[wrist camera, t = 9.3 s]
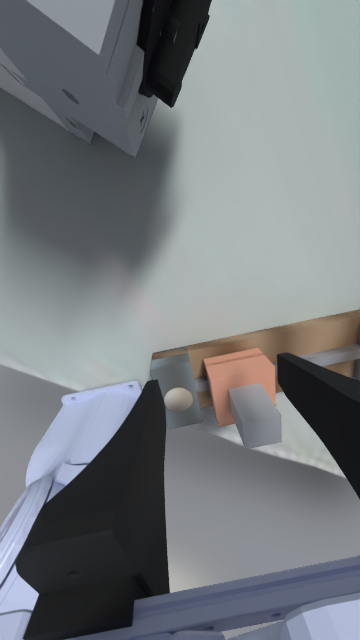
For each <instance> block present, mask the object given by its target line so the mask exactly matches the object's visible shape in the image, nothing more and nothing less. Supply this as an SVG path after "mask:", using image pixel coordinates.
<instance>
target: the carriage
mask: <svg viewBox="0 0 360 640" xmlns="http://www.w3.org/2000/svg"><path fill="white" fill-rule="evenodd" d="M203 360H204V365H205V368H206V372H207V378H208V383H209V389H210V394H211V396H210V398H211V403H212V406H213V410H214V413H215V417H216V420H217V424H218V427H221V426H225V425H230V424H236V426H237V429H238V431H239V434H240V436H241V439H242V442H243V444H244V447H245V449H249V448H254V447H259V446H264V445H269V444H274V443H278V442H282V436H281V414H280V412H279V411H278V409H277V408H276V392H275V366H274V365H273V364H272V363H271V362H270V361H269V359H268V358H267V357H266V356H265V355H264V354H263V353H262V352H261V351H260V350H259V348H254V349H249V350H245V351H240V352H235V353H230V354H226V355H221V356H216V357H211V358H206V359H203Z"/></svg>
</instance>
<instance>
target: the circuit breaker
mask: <svg viewBox="0 0 360 640" xmlns="http://www.w3.org/2000/svg"><path fill="white" fill-rule="evenodd" d="M211 1H212V0H0V88H2V89H4V90H5V91H7V92H8V93H10V94H12V95H13V96H15V97H16V98H18V99H19V100H21V101H23V102H24V103H26V104H27V105H29V106H30V107H32V108H34V109H35V110H37V111H38V112H40V113H41V114H43V115H45V116H46V117H48V118H49V119H51V120H53V121H54V122H56V123H57V124H59V125H60V126H62V127H64V128H65V129H67V130H68V131H70V132H71V133H73V134H75V135H76V136H78V137H79V138H81V139H83V140H84V141H86V142H87V143H89V144H91V141H92V138H93V135H94V132H96V133H97V134H99V135H100V136H102V137H103V138H105V139H106V140H108V141H109V142H111V143H113V144H114V145H116V146H117V147H119V148H120V149H122V150H123V151H125V152H126V153H128V154H129V155H131V156H133V157H134V158H136V155H137V153H138V150H139V147H140V145H141V142H142V139H143V137H144V134H145V132H146V129H147V126H148V124H149V121H150V118H151V116H152V113H153V110H154V108H155V105H156V103H157V100H158V99H157V97H158V98H159V99H160V100H162V101H163V102H164V103H166V104H167V105H168V106H170V107H171V108H172V107H173V106H174V104H175V102H176V100H177V97H178V95H179V92H180V90H181V87H182V80H183V77H184V75H185V72H186V70H187V67H188V65H189V62H190V60H191V57H192V55H193V52H194V50H195V48H196V49H197V48H198V45H199V43H200V40H201V38H202V35H203V33H204V30H205V28H206V25H207V23H208V20H209V17H210V16H209V15H208V12H209V7H210V4H211Z"/></svg>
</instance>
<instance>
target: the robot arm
mask: <svg viewBox="0 0 360 640" xmlns="http://www.w3.org/2000/svg"><path fill="white" fill-rule="evenodd" d="M277 380H278V384H279V385H280V387H281V389H282V390H283V392H284V393H285V395H286V397H287V398H288V399H289V401H290V402H291V403H292V404H293V406H294V407H295V408H296V409H297V411H298V412H299V413H300V414H301V415H302V417H303V418H304V419H305V420H306V422H307V423H308V424H309V425H310V426H311V428H312V429H313V430H314V431H315V433H316V434H317V435H318V437H319V438H320V439H321V440H322V442H323V443H324V445H325V446H326V448H327V449H328V451H329V452H330V454H331V455H332V457H333V458H334V459H335V461H336V462H337V464H338V466H339V467H340V469H341V470H342V472H343V473H344V475H345V476H346V478H347V479H348V481H349V482H350V484H351V486H352V487H353V489H354V491H355V492H356V494H357V495H358V497H359V499H360V381H359V380H356V379H353V378H350V377H347V376H345V375H342V374H339V373H337V372H334V371H332V370H329V369H327V368H324V367H322V366H319V365H317V364H315V363H312V362H310V361H308V360H305V359H303V358H301V357H298V356H296V355H293V354H291V353H288V352H285V353H281V354H277ZM130 385H132V386H130ZM73 397H75V398H73ZM61 401H62V403H63V407H62V408H61V410H60V411H59V413H58V415H57V416H56V418H55V419H54V421H53V422H52V424H51V425H50V427H49V428H48V430H47V432H46V433H45V435H44V436H43V438H42V439H41V441H40V442H39V444H38V446H37V447H36V449H35V450H34V452H33V454H32V457H31V459H30V462H29V465H28V469H27V474H26V490H25V491H24V492H23V494H22V495H21V496H20V498H19V499H18V501H17V502H16V504H15V505H14V507H13V508H12V510H11V511H10V513H9V514H8V516H7V518H6V519H5V520H4V522H3V524H2V525H1V527H0V640H225V637H224V635H223V634H222V633H221V632H222V631H226V630H231V629H237V628H242V627H247V626H252V625H257V624H262V623H268V622H273V621H278V620H283V619H284V620H283V621H281V622H278V623H275V624H272V625H269V626H266V627H263V628H259V629H257V630H254V631H251V632H247V633H244V634H241V635H238V636H235V637H232V638H229V639H227V640H360V556H355V557H350V558H345V559H340V560H335V561H330V562H325V563H320V564H315V565H310V566H305V567H300V568H295V569H289V570H284V571H280V572H274V573H269V574H264V575H259V576H254V577H249V578H244V579H239V580H234V581H230V582H224V583H219V584H214V585H209V586H204V587H199V588H194V589H189V590H184V591H179V592H174V593H170V589H169V575H168V574H169V573H168V560H167V559H168V558H167V540H166V520H165V495H164V456H165V439H166V438H165V437H166V408H165V403H164V399H163V396H162V393H161V389H160V386H159V382H158V379H156V380H152V381H147V383H146V385H145V386H144V388H143V390H142V389H141V386H140V383H139V382H138V381H131V382H126V383H121V384H116V385H112V386H107V387H102V388H97V389H93V390H88V391H83V392H78V393H74V394H69V395H65V396H63V397H62V399H61Z"/></svg>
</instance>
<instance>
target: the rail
mask: <svg viewBox="0 0 360 640" xmlns="http://www.w3.org/2000/svg"><path fill="white" fill-rule="evenodd" d="M254 348H259V350H260V351H261V352H262V353H263V354H264V355H265V356H266V357H267V358H268V359H269V361H270V362H271V363H272V364H273V365H274V366H275V392H281V391H283V390H282V389H281V387H280V385H279V384H278V380H277V354H281V353H285V352H288V353H291V354H293V355H296V356H298V357H301V358H303V359H305V360H308V361H310V362H312V363H315V364H317V365H319V366H322V367H324V368H327V369H329V370H332V371H334V372H337V373H339V374H342V375H345V376H347V377H354V378H356V379H357V380H359V381H360V310H355V311H351V312H346V313H341V314H336V315H332V316H327V317H322V318H317V319H313V320H308V321H303V322H298V323H294V324H289V325H284V326H279V327H275V328H270V329H265V330H260V331H256V332H251V333H246V334H241V335H237V336H232V337H227V338H222V339H218V340H213V341H208V342H203V343H199V344H194V345H189V346H184V347H180V348H175V349H170V350H165V351H161V352H156V353H153V355H152V362H151V370H150V372H151V375H152V378H153V380H156V379H158V382H159V386H160V389H161V393H162V396H163V399H164V403H165V408H166V424H167V427H168V429H172V428H177V427H182V426H186V425H191V424H196V423H201V422H203V421H202V416H201V411H200V408H204V407H209V406H212V403H211V398H210V396H211V394H210V389H209V383H208V378H207V372H206V368H205V365H204V360H203V359H206V358H211V357H216V356H221V355H226V354H230V353H235V352H240V351H245V350H249V349H254Z"/></svg>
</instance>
